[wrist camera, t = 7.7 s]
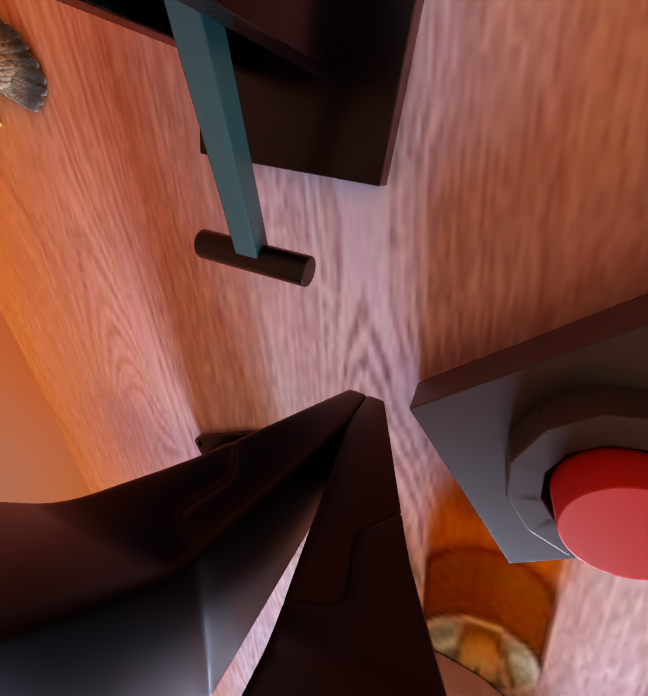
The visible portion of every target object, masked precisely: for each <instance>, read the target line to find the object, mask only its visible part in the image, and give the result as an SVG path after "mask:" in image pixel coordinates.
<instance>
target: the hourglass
mask: <svg viewBox="0 0 648 696" xmlns="http://www.w3.org/2000/svg"><path fill="white" fill-rule="evenodd" d="M435 655H436V658H437V661H438V665H439V668H440V672H441V675H442V679H443V682H444V686H445V689H446V692H447V696H503V695H502V694H500V693H499V692H498V691H497V690H496V689H494V688H493V687H492V686H491V685H490V684H489V683H487V682H486V681H485V680H484V679H483V678H481V677H480V676H478V675H477V674H475V673H473V672H471V671H470V670H468V669H466V668H464V667H463V666H461V665H459V664H458V663H456V662H454V661H452V660H451V659H449V658H447V657H445V656H444V655H442V654H440V653H437V652H435Z"/></svg>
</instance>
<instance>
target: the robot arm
mask: <svg viewBox="0 0 648 696" xmlns="http://www.w3.org/2000/svg"><path fill="white" fill-rule="evenodd" d="M195 442H196V445H197V447H198V448H199V450H200V452H201V454H202V455H201V456H198V457H196V458H194V459H191V460H188V461H185V462H183V463H180V464H177V465H175V466H172V467H169V468H166V469H164V470H161V471H158V472H155V473H152V474H149V475H146V476H143V477H140V478H137V479H134V480H132V481H129V482H126V483H123V484H120V485H117V486H114V487H111V488H108V489H105V490H102V491H99V492H97V493H94V494H91V495H87V496H84V497H81V498H76V499H72V500H68V501H61V502H55V503H41V504H33V503H30V504H29V503H8V502H0V696H210V695H212V694H213V692H214V690H215V689H216V687H217V685H218V684H219V682H220V680H221V678H222V677H223V675H224V673H225V672H226V670H227V668H228V667H229V665H230V663H231V661H232V660H233V658H234V656H235V655H236V653H237V651H238V650H239V648H240V646H241V644H242V643H243V641H244V639H245V638H246V636H247V634H248V633H249V631H250V629H251V627H252V626H253V624H254V622H255V621H256V619H257V617H258V616H259V614H260V612H261V610H262V609H263V607H264V605H265V604H266V602H267V600H268V599H269V597H270V595H271V593H272V592H273V590H274V588H275V587H276V585H277V583H278V581H279V580H280V578H281V576H282V575H283V573H284V571H285V570H286V568H287V566H288V564H289V563H290V561H291V559H292V558H293V556H294V554H295V553H296V551H297V549H298V547H299V546H300V544H301V542H302V541H303V539H304V537H305V536H306V534H307V532H308V530H309V529H310V530H309V533H308V536H307V539H306V542H305V544H304V547H303V550H302V553H301V555H300V558H299V561H298V564H297V567H296V569H295V572H294V575H293V578H292V580H291V583H290V586H289V589H288V592H287V594H286V597H285V601H284V604H283V606H282V608H281V611H280V614H279V616H278V619H277V622H276V624H275V627H274V629H273V632H272V634H271V637H270V639H269V641H268V644H267V646H266V648H265V650H264V653H263V655H262V657H261V659H260V661H259V663H258V665H257V667H256V669H255V670H254V672H253V674H252V676H251V678H250V680H249V682H248V684H247V686H246V688H245V690H244V692H243V694H242V696H447V692H446V689H445V686H444V682H443V679H442V675H441V672H440V668H439V665H438V661H437V658H436V655H435V651H434V648H433V644H432V641H431V637H430V634H429V630H428V627H427V623H426V620H425V616H424V613H423V610H422V606H421V603H420V599H419V596H418V592H417V588H416V584H415V580H414V576H413V572H412V569H411V565H410V561H409V555H408V550H407V545H406V540H405V534H404V528H403V521H402V516H401V515H400V514H401V510H400V503H399V497H398V490H397V483H396V477H395V470H394V464H393V457H392V450H391V444H390V437H389V431H388V424H387V418H386V411H385V404H384V402H383V401H382V400H380V399H377V398H374V397H371V396H367V397H366V396H365V395H364V394H362V393H359V392H356V391H353V390H347V391H345V392H343V393H341V394H338V395H336V396H334V397H332V398H329V399H327V400H325V401H323V402H321V403H318V404H316V405H314V406H312V407H309V408H307V409H305V410H303V411H300V412H298V413H296V414H294V415H292V416H289V417H287V418H285V419H283V420H280V421H278V422H276V423H274V424H271V425H269V426H267V427H265V428H262V429H260V430H258V431H243V432H230V433H218V434H205V435H199V436H198V437H197V438H196V439H195ZM310 527H311V528H310Z"/></svg>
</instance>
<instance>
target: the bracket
mask: <svg viewBox="0 0 648 696" xmlns="http://www.w3.org/2000/svg"><path fill="white" fill-rule="evenodd" d="M57 1H59V2H62V3H64V4H67V5H69V6H72V7H74V8H77V9H79V10H82V11H85V12H87V13H90V14H92V15H95V16H97V17H100V18H102V19H105V20H107V21H110V22H113V23H115V24H118V25H120V26H123V27H125V28H128V29H130V30H133V31H135V32H138V33H140V34H143V35H146V36H148V37H151V38H153V39H156V40H158V41H161V42H163V43H166V44H168V45H171V46H174V47H176V48H177V46H176V42H175V39H174V35H173V32H172V28H171V25H170V21H169V18H168V14H167V11H166V7H165V4H164V0H57ZM178 1H180V2H181V3H183V4H185V5H187V6H189V7H191V8H192V9H194V10H196V11H198V12H200V13H202V14H203V15H205V16H207V17H209V18H211V19H213V20H214V21H216V22H218V23H220V24H222V25H224V26H225V28H226V33H227V38H228V44H229V49H230V54H231V59H232V64H233V69H234V74H235V79H236V84H237V90H238V95H239V100H240V105H241V110H242V115H243V120H244V125H245V131H246V136H247V141H248V146H249V151H250V156H251V161H252V163H255V164H261V165H266V166H271V167H277V168H282V169H288V170H293V171H299V172H304V173H310V174H315V175H320V176H326V177H331V178H337V179H342V180H348V181H353V182H358V183H364V184H369V185H375V186H384V185H386V184H387V180H388V175H389V170H390V166H391V161H392V156H393V151H394V146H395V141H396V136H397V131H398V126H399V121H400V116H401V111H402V107H403V102H404V97H405V92H406V87H407V82H408V77H409V72H410V67H411V62H412V57H413V53H414V48H415V43H416V38H417V33H418V28H419V23H420V18H421V13H422V8H423V3H424V0H178ZM200 152H201V153H202V154H206V155H208V154H207V151H206V147H205V144H204V140H203V137H202V133H201V130H200Z"/></svg>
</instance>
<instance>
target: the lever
mask: <svg viewBox="0 0 648 696" xmlns="http://www.w3.org/2000/svg"><path fill="white" fill-rule="evenodd" d="M164 4H165V7H166V11H167V14H168V18H169V21H170V25H171V28H172V32H173V35H174V39H175V42H176V46H177V49H178V53H179V56H180V60H181V63H182V67H183V70H184V74H185V77H186V81H187V84H188V88H189V91H190V95H191V98H192V102H193V105H194V109H195V112H196V116H197V119H198V123H199V126H200V130H201V133H202V137H203V140H204V144H205V147H206V151H207V154H208V158H209V161H210V165H211V168H212V172H213V175H214V179H215V182H216V186H217V189H218V193H219V196H220V200H221V203H222V207H223V210H224V214H225V217H226V221H227V224H228V228H229V231H230V235H227V234H223V233H219V232H215V231H211V230H207V229H203V230H201V231H200V232H199V233H198V234H197V235H196V238H195V241H194V249H195V252H196V254H197V255H198V256H199V257H200V258H204V259H207V260H211V261H214V262H218V263H221V264H225V265H228V266H232V267H236V268H239V269H243V270H246V271H250V272H253V273H257V274H260V275H264V276H267V277H271V278H274V279H278V280H282V281H285V282H289V283H292V284H296V285H299V286H303V287H307V286H308V285H309V284H310V283H311V281H312V279H313V276H314V273H315V266H316V263H315V259H314V257H313V256H310V255H306V254H302V253H298V252H294V251H290V250H286V249H282V248H278V247H274V246H270V245H268V243H267V238H266V233H265V228H264V223H263V218H262V212H261V207H260V202H259V197H258V192H257V187H256V182H255V177H254V171H253V166H252V161H251V156H250V151H249V146H248V141H247V136H246V131H245V125H244V120H243V115H242V110H241V105H240V100H239V95H238V90H237V84H236V79H235V74H234V69H233V64H232V59H231V54H230V49H229V44H228V38H227V33H226V28H225V26H224V25H222V24H220V23H218V22H216V21H214V20H213V19H211V18H209V17H207V16H205V15H203V14H202V13H200V12H198V11H196V10H194V9H192V8H191V7H189V6H187V5H185V4H183V3H181V2H180V1H178V0H164Z"/></svg>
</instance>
